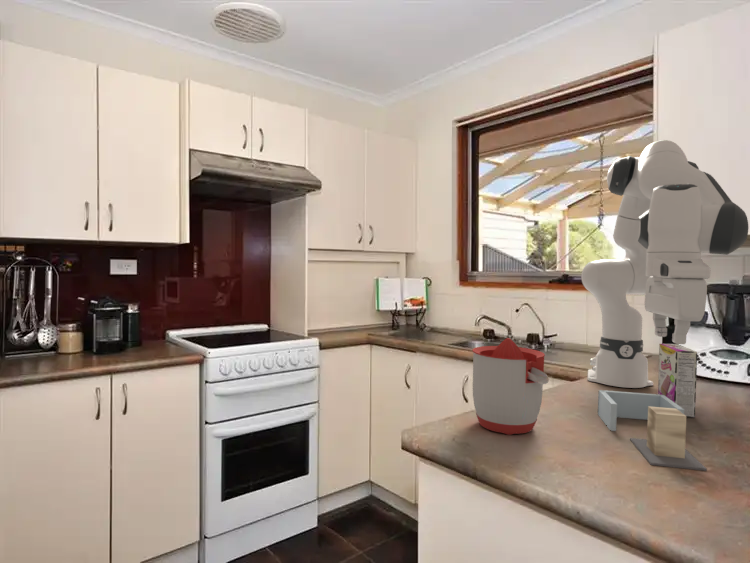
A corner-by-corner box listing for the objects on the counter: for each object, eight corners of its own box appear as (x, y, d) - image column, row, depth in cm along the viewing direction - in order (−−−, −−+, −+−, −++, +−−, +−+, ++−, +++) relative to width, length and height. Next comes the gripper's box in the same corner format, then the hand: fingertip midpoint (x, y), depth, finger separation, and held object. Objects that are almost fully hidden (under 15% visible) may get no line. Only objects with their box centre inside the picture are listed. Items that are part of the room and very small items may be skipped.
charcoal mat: (630, 439, 99) (630, 437, 99) (678, 444, 97) (678, 442, 97) (650, 464, 86) (650, 462, 86) (706, 470, 84) (706, 468, 84)
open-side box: (597, 414, 116) (598, 389, 116) (662, 419, 113) (663, 394, 113) (610, 430, 105) (611, 403, 104) (683, 437, 101) (684, 409, 101)
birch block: (646, 445, 95) (648, 406, 95) (674, 448, 94) (676, 408, 93) (655, 455, 90) (656, 413, 90) (684, 458, 89) (686, 416, 89)
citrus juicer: (519, 447, 94) (522, 347, 93) (455, 423, 108) (458, 335, 107) (564, 432, 103) (567, 341, 102) (500, 411, 117) (502, 331, 116)
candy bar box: (655, 403, 127) (658, 342, 126) (676, 405, 126) (679, 344, 125) (673, 416, 116) (676, 350, 115) (696, 418, 115) (698, 351, 114)
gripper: (637, 267, 101) (635, 331, 102) (673, 267, 82) (670, 347, 82) (670, 268, 100) (667, 333, 100) (715, 268, 80) (711, 349, 81)
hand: (669, 339), depth 91 cm, fingers open, 8 cm apart
